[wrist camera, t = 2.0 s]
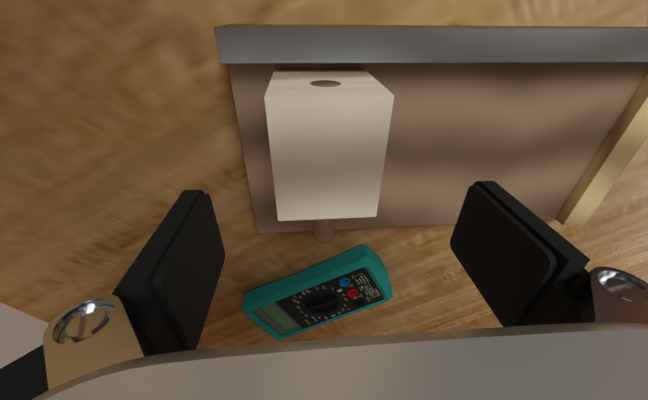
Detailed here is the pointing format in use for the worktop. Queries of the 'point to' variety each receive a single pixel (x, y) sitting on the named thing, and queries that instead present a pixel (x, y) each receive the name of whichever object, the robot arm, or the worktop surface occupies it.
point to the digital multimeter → (319, 293)
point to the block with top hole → (327, 144)
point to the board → (462, 112)
